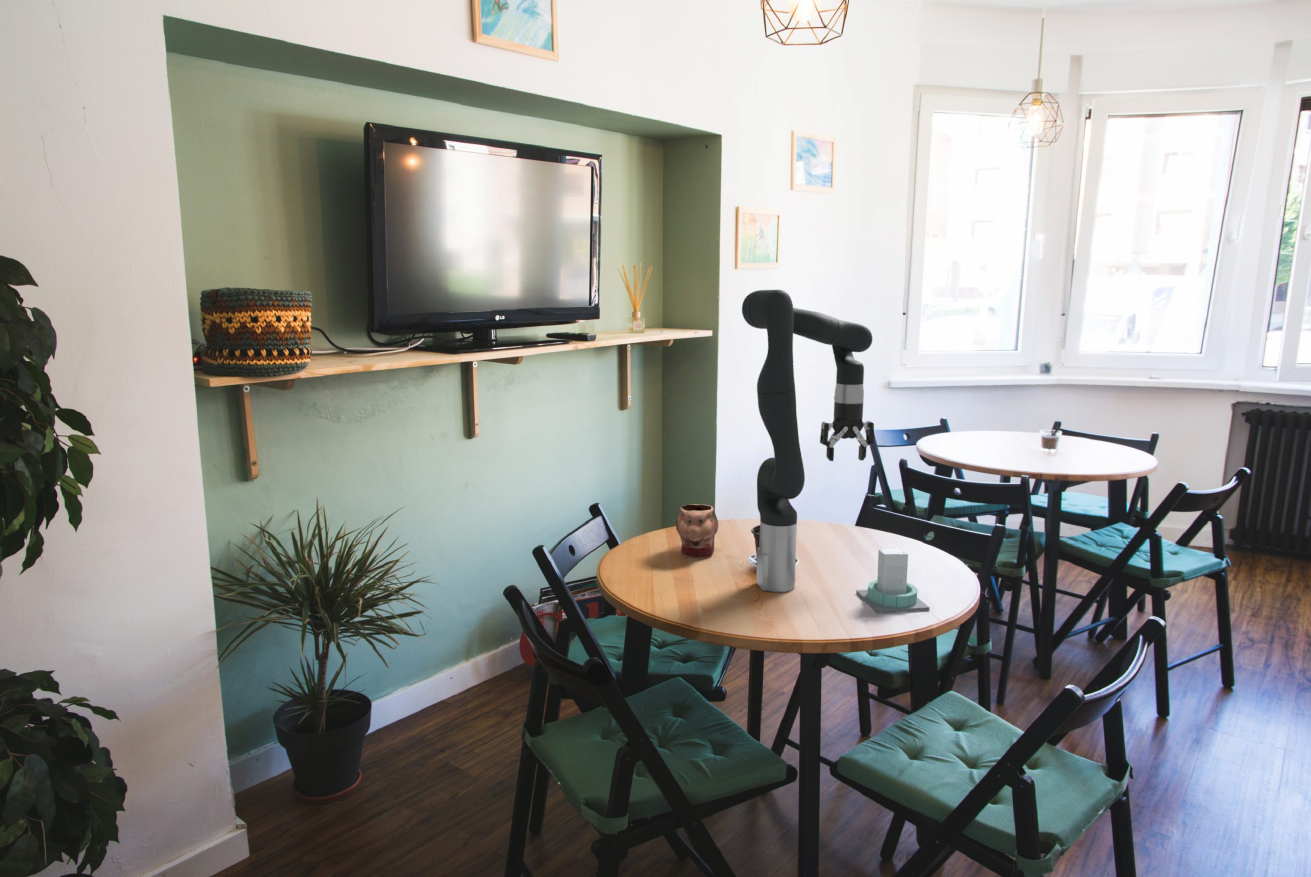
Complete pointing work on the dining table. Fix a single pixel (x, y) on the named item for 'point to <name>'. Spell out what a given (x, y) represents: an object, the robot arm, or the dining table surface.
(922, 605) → the collar holder
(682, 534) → the decorative planter
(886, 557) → the skincare box
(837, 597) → the dining table surface
